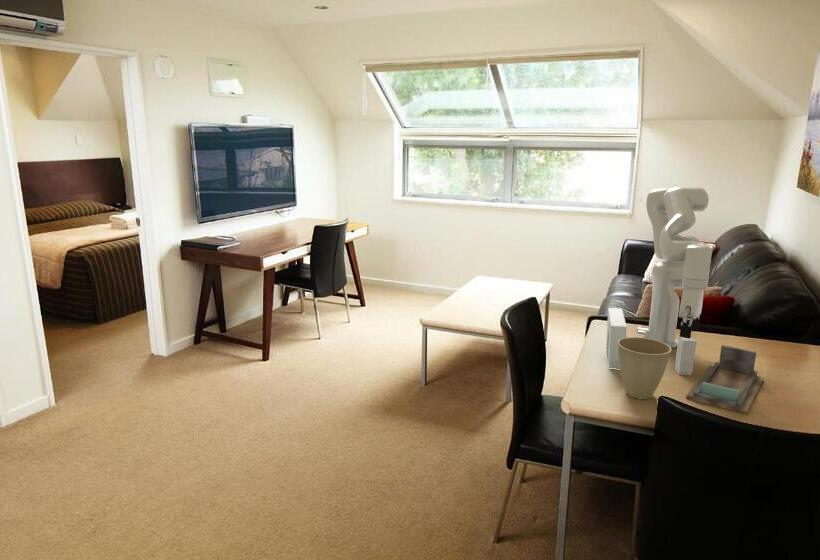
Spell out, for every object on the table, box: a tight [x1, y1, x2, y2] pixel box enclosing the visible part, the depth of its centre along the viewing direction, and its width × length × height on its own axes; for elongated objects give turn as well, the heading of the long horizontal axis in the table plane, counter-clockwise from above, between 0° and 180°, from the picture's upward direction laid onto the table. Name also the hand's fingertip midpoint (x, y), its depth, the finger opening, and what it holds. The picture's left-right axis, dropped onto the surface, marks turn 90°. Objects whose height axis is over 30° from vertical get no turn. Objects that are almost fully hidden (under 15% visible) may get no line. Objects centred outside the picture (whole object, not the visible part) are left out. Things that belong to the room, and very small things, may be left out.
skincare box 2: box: [674, 334, 697, 376], centre depth 191 cm, size 6×4×12 cm
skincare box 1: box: [605, 307, 627, 369], centre depth 201 cm, size 21×6×16 cm, turn 164°
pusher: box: [701, 382, 739, 402], centre depth 170 cm, size 9×1×4 cm, turn 51°
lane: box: [686, 344, 764, 415], centre depth 178 cm, size 16×30×9 cm, turn 141°
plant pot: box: [618, 336, 673, 400], centre depth 174 cm, size 15×15×16 cm
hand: (688, 333), depth 188 cm, fingers open, 9 cm apart
